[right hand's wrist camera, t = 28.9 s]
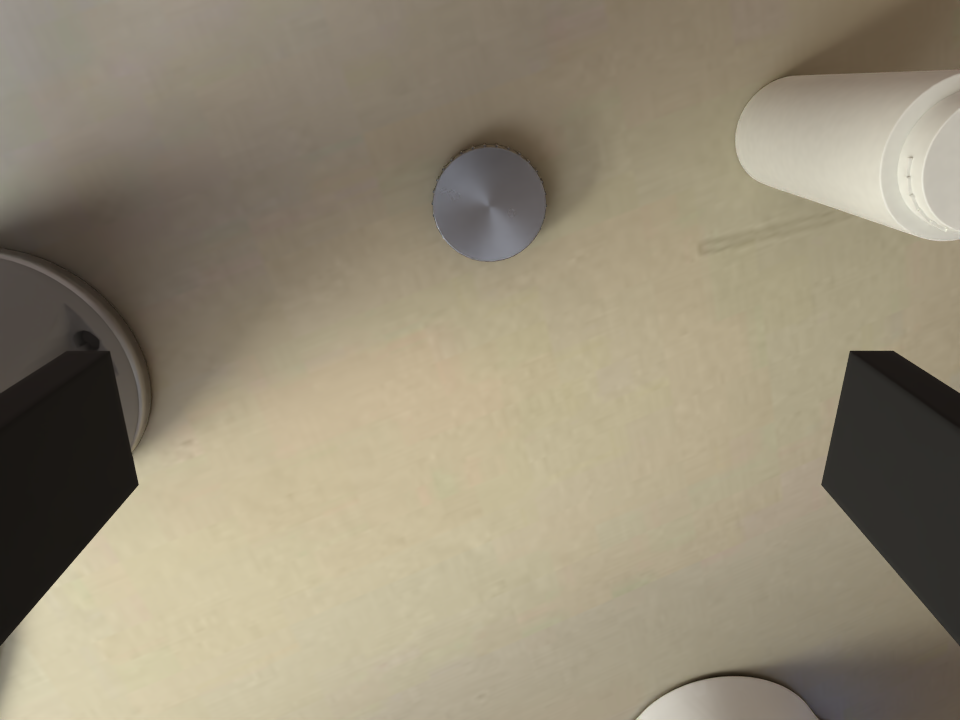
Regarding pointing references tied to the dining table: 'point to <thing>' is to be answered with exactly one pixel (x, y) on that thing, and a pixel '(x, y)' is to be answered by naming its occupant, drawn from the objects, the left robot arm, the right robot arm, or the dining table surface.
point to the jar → (862, 145)
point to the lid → (489, 203)
